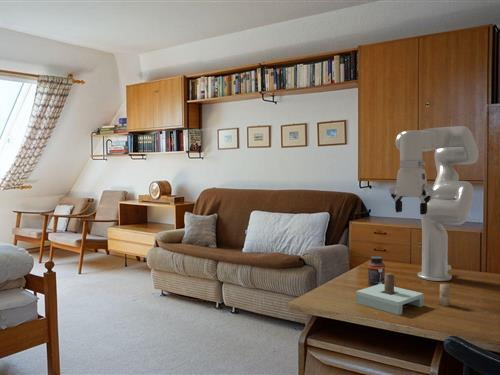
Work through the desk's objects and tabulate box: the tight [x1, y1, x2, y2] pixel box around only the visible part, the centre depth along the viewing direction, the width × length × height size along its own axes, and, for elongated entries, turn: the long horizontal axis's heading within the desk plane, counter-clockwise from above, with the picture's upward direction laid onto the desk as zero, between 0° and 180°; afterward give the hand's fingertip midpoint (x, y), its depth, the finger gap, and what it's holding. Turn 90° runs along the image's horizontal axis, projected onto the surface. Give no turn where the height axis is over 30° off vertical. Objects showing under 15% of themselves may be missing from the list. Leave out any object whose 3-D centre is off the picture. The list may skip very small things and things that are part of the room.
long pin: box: [384, 272, 395, 295], centre depth 147 cm, size 3×3×10 cm
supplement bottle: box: [367, 255, 386, 287], centre depth 167 cm, size 6×6×11 cm
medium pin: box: [439, 283, 451, 307], centre depth 146 cm, size 3×3×6 cm
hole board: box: [355, 284, 424, 316], centre depth 147 cm, size 14×16×4 cm
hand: (410, 213), depth 160 cm, fingers open, 9 cm apart
